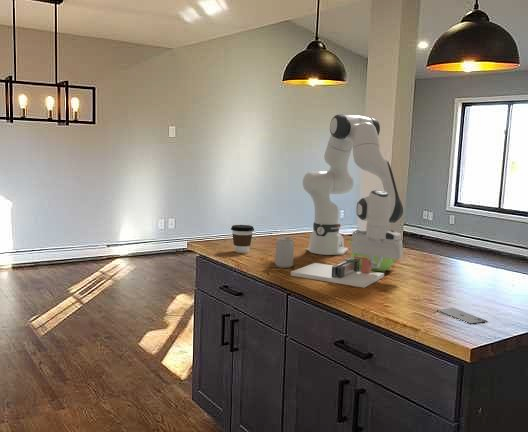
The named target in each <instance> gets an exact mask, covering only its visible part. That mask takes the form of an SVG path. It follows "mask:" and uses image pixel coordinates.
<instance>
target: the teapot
mask: <svg viewBox="0 0 528 432" xmlns="http://www.w3.org/2000/svg"><path fill="white" fill-rule="evenodd" d="M347 242H348V243H349V244H350V245H351V244H352V241H351V240H347ZM350 256H351V258H354V257H355V256H360V257H367V258H368V259H369V256H368V255H361V254H354V253H352V252H351V251H350ZM373 260H374V262H375V263H377V262H378V261H379V260H378V257H375V256H374V258H373ZM395 260H396V259H390V258H383V260H382V261H381V263H380V267H379V268H373V267H371V271H373V272H380V273H386V271H388V270H390V268H391V267H392V266H393V264H394V263H395ZM361 266H362V259H360V267H359V269H360V270H361Z"/></svg>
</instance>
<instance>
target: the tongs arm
mask: <svg viewBox="0 0 528 432" xmlns="http://www.w3.org/2000/svg"><path fill="white" fill-rule="evenodd" d="M347 263H348V261H346V260H343V261H342V262H340V263H338V264H335V265H333V266H332V277H337V267H340V266H342V265H345V264H347Z"/></svg>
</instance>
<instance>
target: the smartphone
mask: <svg viewBox="0 0 528 432" xmlns="http://www.w3.org/2000/svg"><path fill="white" fill-rule="evenodd" d="M438 311H440V312H442V313H445V314H447V315H450V316H452V317H455V318H457V319H460V320H462V321H465V322H467V323H470V324H469V325H471V324H474V325H477V324H476V323H482V324H486V323H485V322H488V323H489V321H488V320H487V319H484V318H482V317H479V316H476V315H473V314H471V313H468V312H465V311H463V310H461V309H457V308H455V307H448V308H439V309H437V310H436V312H438ZM440 312H439V313H440ZM442 313H441V314H442ZM445 314H444V315H445ZM447 315H446V316H447ZM450 316H449V317H450ZM452 317H451V318H452ZM455 318H454V319H455ZM457 319H456V320H457ZM460 320H459V321H460ZM462 321H461V322H462ZM465 322H464V323H465ZM467 323H466V324H467Z"/></svg>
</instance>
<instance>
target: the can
mask: <svg viewBox="0 0 528 432" xmlns="http://www.w3.org/2000/svg"><path fill="white" fill-rule="evenodd" d="M294 248H295V242H294V240H293V238H292V237H284V236H282V237H278V238H277V240H276V242H275V254H274V255H275V257H274V258H275V259H274V260H275V261H274V265H275V266H276V267H277V268H281V269H289V268H291V267H292V266H294V250H295V249H294Z"/></svg>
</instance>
